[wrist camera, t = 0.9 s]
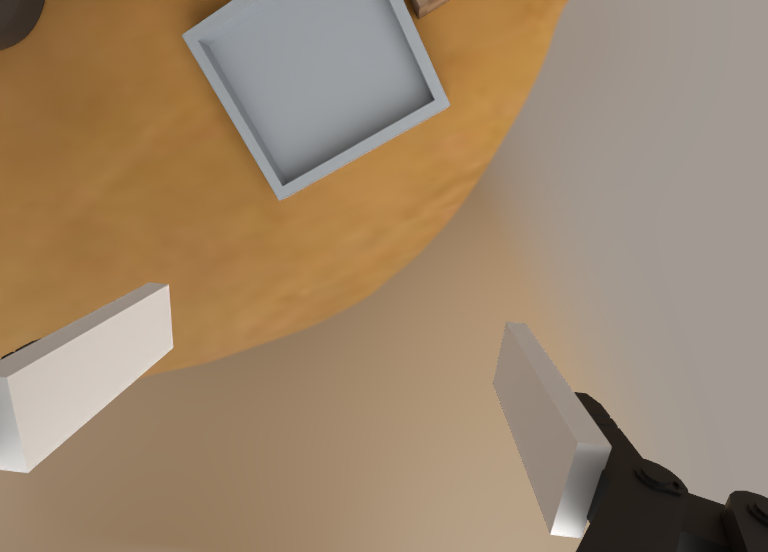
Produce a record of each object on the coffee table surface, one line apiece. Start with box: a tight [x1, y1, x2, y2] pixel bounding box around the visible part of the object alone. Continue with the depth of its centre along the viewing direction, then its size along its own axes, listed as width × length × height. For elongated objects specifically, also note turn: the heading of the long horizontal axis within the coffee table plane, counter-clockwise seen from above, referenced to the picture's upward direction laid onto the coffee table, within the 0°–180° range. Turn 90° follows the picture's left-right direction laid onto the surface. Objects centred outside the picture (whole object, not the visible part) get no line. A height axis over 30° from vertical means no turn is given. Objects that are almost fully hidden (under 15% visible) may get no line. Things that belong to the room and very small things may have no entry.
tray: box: [182, 0, 450, 201], centre depth 36 cm, size 16×18×3 cm
